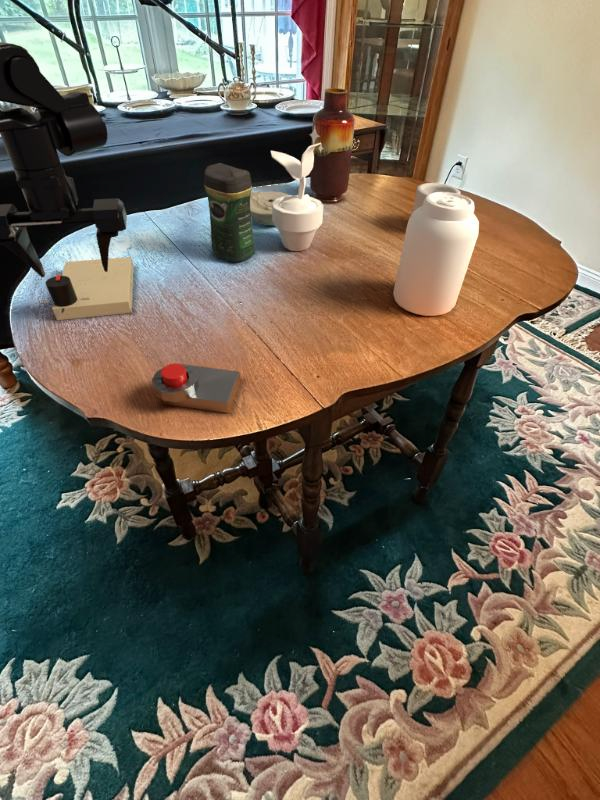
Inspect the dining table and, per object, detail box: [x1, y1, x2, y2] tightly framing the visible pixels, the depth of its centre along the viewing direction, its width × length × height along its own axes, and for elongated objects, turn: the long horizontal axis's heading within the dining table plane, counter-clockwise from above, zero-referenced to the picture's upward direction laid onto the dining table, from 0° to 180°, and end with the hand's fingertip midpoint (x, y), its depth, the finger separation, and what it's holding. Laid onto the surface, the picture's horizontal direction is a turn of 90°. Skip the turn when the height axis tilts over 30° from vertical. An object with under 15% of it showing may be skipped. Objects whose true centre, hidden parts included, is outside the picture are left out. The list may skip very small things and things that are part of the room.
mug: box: [411, 182, 462, 214], centre depth 110 cm, size 14×11×10 cm
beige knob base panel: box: [40, 256, 135, 321], centre depth 84 cm, size 15×20×3 cm
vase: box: [309, 87, 356, 204], centre depth 118 cm, size 11×11×26 cm
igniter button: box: [161, 363, 187, 388], centre depth 62 cm, size 3×3×2 cm
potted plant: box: [270, 127, 324, 252], centre depth 95 cm, size 13×12×25 cm
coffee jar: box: [203, 162, 256, 263], centre depth 93 cm, size 10×8×19 cm
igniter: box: [151, 363, 241, 414], centre depth 65 cm, size 11×8×4 cm
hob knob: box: [45, 273, 77, 307], centre depth 77 cm, size 4×4×4 cm
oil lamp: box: [250, 191, 291, 226], centre depth 113 cm, size 21×14×5 cm
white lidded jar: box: [392, 192, 480, 317], centre depth 81 cm, size 12×12×20 cm
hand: (75, 273), depth 68 cm, fingers open, 9 cm apart
